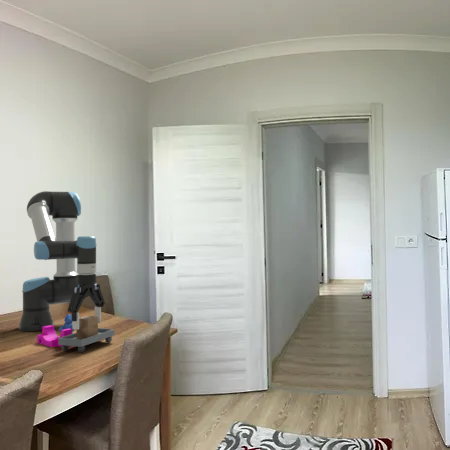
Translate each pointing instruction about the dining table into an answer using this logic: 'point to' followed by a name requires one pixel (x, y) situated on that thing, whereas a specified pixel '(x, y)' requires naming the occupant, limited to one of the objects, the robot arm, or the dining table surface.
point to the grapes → (67, 323)
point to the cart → (80, 343)
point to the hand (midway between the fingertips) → (87, 325)
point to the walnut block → (87, 327)
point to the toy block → (51, 336)
